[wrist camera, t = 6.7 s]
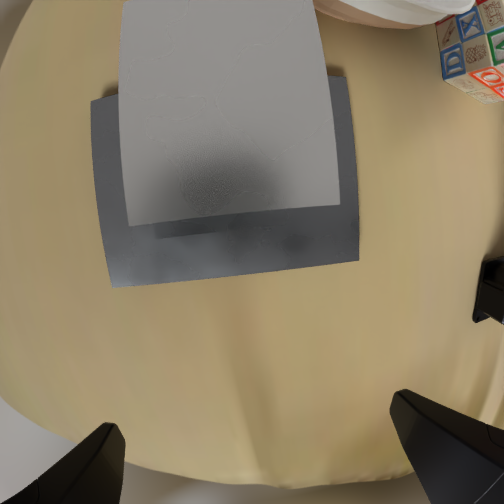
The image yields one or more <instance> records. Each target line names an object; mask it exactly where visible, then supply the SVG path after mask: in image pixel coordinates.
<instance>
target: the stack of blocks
mask: <svg viewBox="0 0 504 504" xmlns="http://www.w3.org/2000/svg"><path fill="white" fill-rule="evenodd" d="M436 26H437V27H436V30H437V36H438V42H439V49H440V56H441V65H442V72H443V80H444V81H446V82H447V83H449V84H451V85H453V86H455V87H456V88H458V89H460V90H462V91H464V92H466V93H467V94H468V95H470V96H472V97H473V98H475V99H477V100H478V101H480V102H482V103H484V104H489V103H494V102H499V101H504V0H475V3H474V5H473V6H472V8H471V9H470V10H469V11H467V12H465V13H463V14H448V15H447V16H445V17H444V18H442V19H441V20H439V21H437V22H436Z"/></svg>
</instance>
